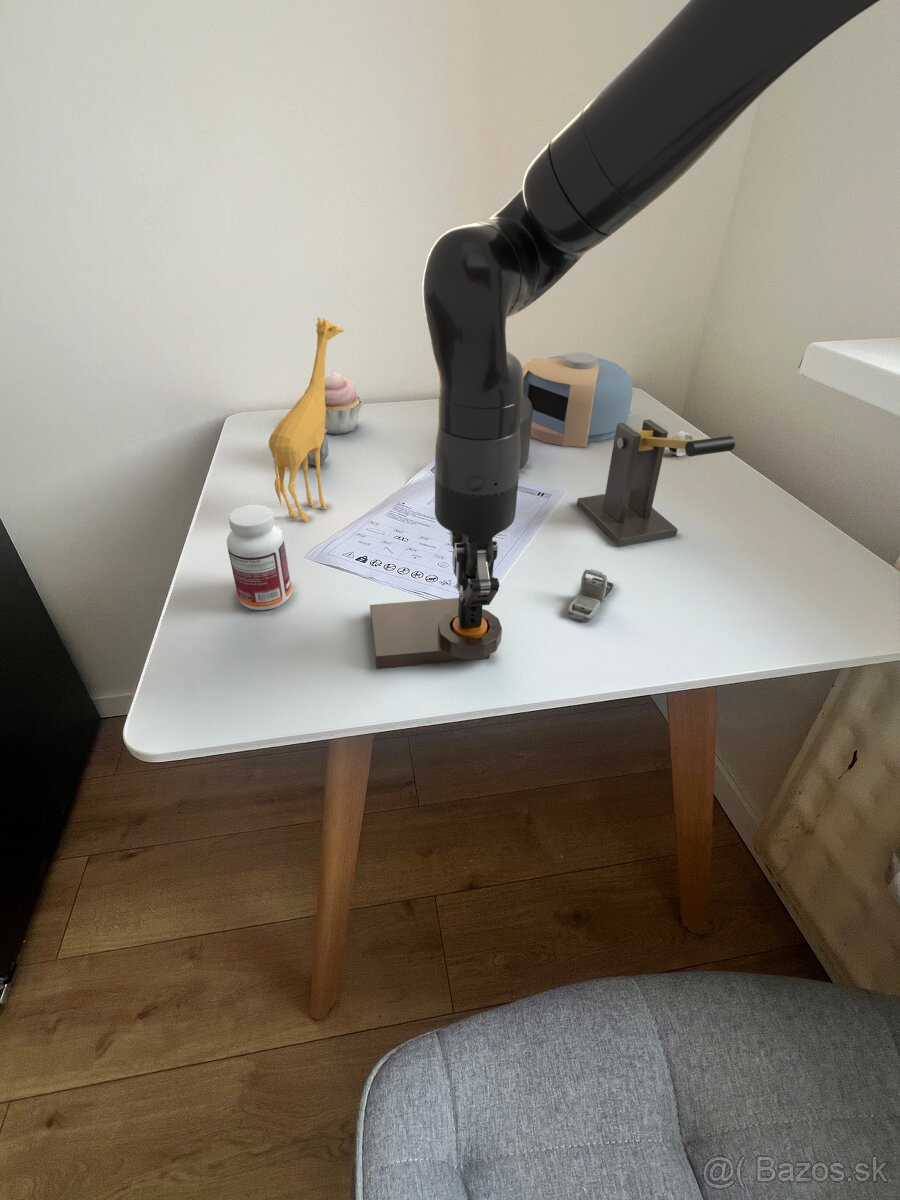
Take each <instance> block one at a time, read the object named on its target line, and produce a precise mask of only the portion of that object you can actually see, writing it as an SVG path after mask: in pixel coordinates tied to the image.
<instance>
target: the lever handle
mask: <svg viewBox="0 0 900 1200" xmlns="http://www.w3.org/2000/svg"><path fill="white" fill-rule="evenodd" d="M635 431H636V432H637V433H639V434H640V435H641V439H640V444H639V450H638V451H645V450H653V446H655V447H665V448H667V449H669V448H678V449H679V450H682V449H685V452H686V454H685V455H686V456H688V457H698V456H705V455H712V454H718V453H725V452H731V451H733V450H734V449H735V446H736V440H735V438H734V436H732V435H727V436H718V437H711V438H703V439H692V440H690V439H685V438H681V439H675V438H672V437H667V438H661V437H653V431H650V430H642V429H638V430H635Z"/></svg>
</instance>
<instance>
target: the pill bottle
mask: <svg viewBox="0 0 900 1200" xmlns="http://www.w3.org/2000/svg"><path fill="white" fill-rule="evenodd" d="M228 522H229V528H230V532H229V533H228V535H227V537H226V546H227V552H228V556H229V561H230V566H231V571H232V575H233V579H234V585H235V589H236V594H237V598H238V601H239V602H240V604H241V605H242V606H244V607H246V608H247V609H250V610H255V611H268V610H273V609H276V608H278V607H280V606H282V605H283V604H285V603H286V602H287V601H288V600H289V598H290V597H291V595H292V583H291V577H290V571H289V565H288V557H287V551H286V546H285V539H284V534H283V533H284V532H283V531H282V530H281V529H280V527H279V526H278V525H276V524H275V518H274V513H273V511H272V509H271V508H269V507H268V506H265V505H261V504H249V505H244V506H240V507H238V508H235V509H234V510H232V511H231V512H230V514H229V515H228Z"/></svg>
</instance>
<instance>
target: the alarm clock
mask: <svg viewBox="0 0 900 1200" xmlns="http://www.w3.org/2000/svg"><path fill="white" fill-rule="evenodd" d="M522 369H523V393H524V394H525V395H526V396H527V397H528V398H529V400H530V401H531V404H532V408H533V412H532V423H531V434H530V438H532V439H535V440H538V441H542V442H544V443H547V444H551V445H558V446H562V447H577V448H587V446H588V443H596V442H602V441H605V440H608V439H612V438H613V437H615V433H616V427H617V423H625V424H626V425H627V423H628V421H629V416H630V411H631V405H632V402H633V401H632V400H633V381H632V378H631V376H630V374H629V373H628V371H627V370H626V369H624V368H623V367H622V366H620V365H619V364H617V363H616V362H613V361H610V360H608V359H604V358H600V357H596V356H595V355H594V354H592V353H587V352H582V351H581V352H580V351H576V352H575V351H574V352H568V353H565V354H564V355H556V356H551V357H547V358H531V359H530V360H529V361H527V362H526V363H525V364H524V366H522Z"/></svg>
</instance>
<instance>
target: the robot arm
mask: <svg viewBox="0 0 900 1200" xmlns="http://www.w3.org/2000/svg"><path fill="white" fill-rule="evenodd" d="M880 1H881V0H689V1H688V2H686V4H685V5H684V6H683V8H681V10H680V11H679V12H678V13H677V14H676V15H675V16H674V17H673V18H672V19H671V20H670V21H669V22H668V24H667V25H666V26H665V27H664V28H663V29H662V30H661V31H660V32H659V33H658V34H657V35H656V37H654V39H652V41H651V42H650V43H649V44H648V45H647V46H646V47H645V48H644V49H643V50H642V51H641V52H639V54H638V55H637V56H636V57H635V58H634V59H633V60H632V61H631V62H630V63H629V64H628V65H627V66H626V67H625V68H624V69H622V71H621V72H620V73H619V74H618V75H616V77H615V78H613V80H612V81H611V82H610V83H609V84H608V85H607V86H606V87H605V88H603V90H602V91H600V93H598V94H597V95H596V97H594V98H593V99H592V100H591V101H590V102H589V103H588V104H587V105H586V106H585V107H584V108H583V109H581V110H580V112H579V113H577V115H576V116H575V117H574V118H573V119H571V120H570V121H569V123H567V124H566V125H565V127H563V129H561V130H560V131H559V133H557V135H555V136H554V137H553V138H552V140H551V141H549V142H548V143H547V144H546V146H544V147H543V148H542V150H541V151H540V152H539V153H538V154H537V155H536V157H535V158H534V159H533V160H532V162H531V163H530V164H529V166H528V167H527V169H526V172H525V174H524V176H523V182H522V187H521V189H520V190H518V192H517V193H516V194H515V195H514V196H513V197H512V198H511V199H510V200H509V201H508V202H507V203H506V204H505V205H504V206H503V207H501V209H499V210H498V211H497V212H496V213H494V214H493V215H492V216H491V217H489V218H487V219H485V220H480V221H477V222H473V223H469V224H468V223H467V224H465V225H460V226H456V227H453V228H451V229H449V230H448V231H446V232H444V233H443V234H442V235H441V236H440V237H438V239H437V240H436V241H435V243H434V244H433V246H432V247H431V249H430V251H429V254H428V256H427V259H426V263H425V267H424V272H423V277H422V278H423V279H422V302H423V303H422V304H423V311H424V316H425V320H426V326H427V330H428V335H429V340H430V343H431V344H430V345H431V347H432V353H433V354H432V355H433V357H434V361H435V364H436V367H437V372H438V376H439V387H438V424H437V425H438V427H437V434H436V441H435V453H434V516H435V519H436V521H437V522H438V524H439V525H440V526H442V528H444V529H445V530H447V531H449V532H450V533H449V534H450V535H449V537H450V538H449V541H450V544H451V547H452V561H451V562H452V564H451V565H452V568H453V569H452V570H453V571H452V572H453V574H454V576H455V578H456V583H455V588H456V589H457V592H458V598H459V608H458V619H459V622H460V626H461V628H463V629H467V628H478V627H480V626H481V623H482V609H483V606H489V605H491V603H492V601H493V599H494V598H495V597H496V595H497V593H498V592H499V588H500V581H499V578H498V577H495V576H493V575H494V565H495V560H496V559H497V558H498V550H499V547H498V541H497V540H493V539H494V538H495V536H497V535H499V534H500V533H501V532H504V531H506V530H507V529H509V528H510V527H511V525H512V524H513V523H514V522H515V519H516V511H517V510H516V509H517V499H518V488H519V476H520V471H519V467H520V455H521V443H520V422H521V410H522V399H523V365H522V364H521V362H520V360H519V358H518V357H517V356H515V355H514V354H513V353H511V352H509V351H508V349H507V338H506V337H507V336H506V334H507V333H506V326H507V325H506V324H507V318H509V317H512V316H513V315H516V314H518V313H520V312H522V311H523V310H526V309H527V308H528V307H529V306H530V305H532V304H533V303H535V302H536V301H537V300H538V299H540V298H541V297H542V296H543V295H545V293H547V292H548V291H549V290H550V289H551V288H553V286H555V284H557V283H558V282H559V281H560V280H561V279H562V278H563V277H564V276H565V275H566V274H567V273H568V272H569V271H570V270H571V269H572V268H573V267H574V266H575V265H576V264H577V263H578V262H579V261H580V260H581V259H582V258H583V256H584V255H585V254H586V253H587V252H589V251H590V250H592V249H593V248H595V247H596V246H598V245H600V244H601V243H603V242H604V241H606V240H607V239H608V238H609V237H611V236H612V235H613V234H616V232H617V231H618V230H620V229H621V228H622V227H623V226H625V225H626V224H628V222H630V221H632V219H633V218H635V217H636V216H637V215H638V214H639V213H641V212H642V211H643V210H644V209H646V208H647V207H648V206H650V205H651V204H652V203H653V202H655V201H656V200H657V199H659V197H660V196H662V195H663V194H664V193H665V192H667V191H668V190H669V189H670V188H671V187H672V186H673V185H674V184H676V182H678V181H679V180H680V179H681V178H682V177H683V176H684V175H685V174H686V173H687V172H688V171H689V170H691V169H692V168H693V167H694V166H695V164H697V163H698V162H699V161H700V159H701V158H702V157H703V156H705V155H706V153H707V152H708V151H709V150H710V149H711V148H712V147H713V146H714V145H715V144H716V142H718V140H719V139H720V138H721V137H722V136H723V135H724V134H725V133H726V132H727V131H728V129H729V128H730V127H731V126H732V125H733V124H734V123H735V122H736V121H737V120H738V119H739V118H740V117H741V116H742V115H743V113H745V112H746V110H747V109H748V108H749V107H750V106H752V104H753V103H754V102H755V101H756V100H758V98H760V97H761V95H763V94H764V93H765V92H766V90H767V89H769V88H770V87H771V86H772V85H773V84H774V83H775V82H776V81H777V80H779V79H780V78H781V77H782V76H783V75H784V74H785V73H786V72H787V71H788V70H790V68H792V67H793V66H795V64H797V63H798V62H799V61H800V60H801V59H802V58H804V57H805V56H806V55H807V54H808V53H810V52H811V51H812V50H814V49H815V48H816V47H817V46H818V45H820V44H822V42H823V41H825V40H826V39H828V37H830V36H831V35H832V34H834V33H835V32H837V31H838V30H839V29H841V28H842V27H843V26H845V25H846V24H847V23H849V22H850V21H852V20H853V19H855V18H856V17H857V16H859V15H860V14H862V13H864V12H865V11H867V10H868V9H870V8H872V7H873V6H874V5H876V4H877V3H879V2H880Z"/></svg>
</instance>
